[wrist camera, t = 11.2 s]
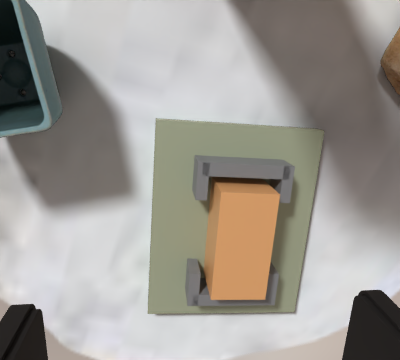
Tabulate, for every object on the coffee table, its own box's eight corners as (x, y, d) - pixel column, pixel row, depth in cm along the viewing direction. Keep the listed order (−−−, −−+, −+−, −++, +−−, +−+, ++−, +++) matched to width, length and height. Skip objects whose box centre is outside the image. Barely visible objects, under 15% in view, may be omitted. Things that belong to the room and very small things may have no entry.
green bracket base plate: (155, 118, 33) (155, 123, 28) (317, 128, 35) (340, 135, 30) (148, 305, 38) (147, 333, 33) (289, 303, 40) (305, 330, 36)
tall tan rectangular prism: (211, 176, 33) (221, 192, 28) (262, 178, 34) (280, 194, 29) (203, 270, 36) (210, 299, 31) (250, 271, 36) (265, 299, 32)
